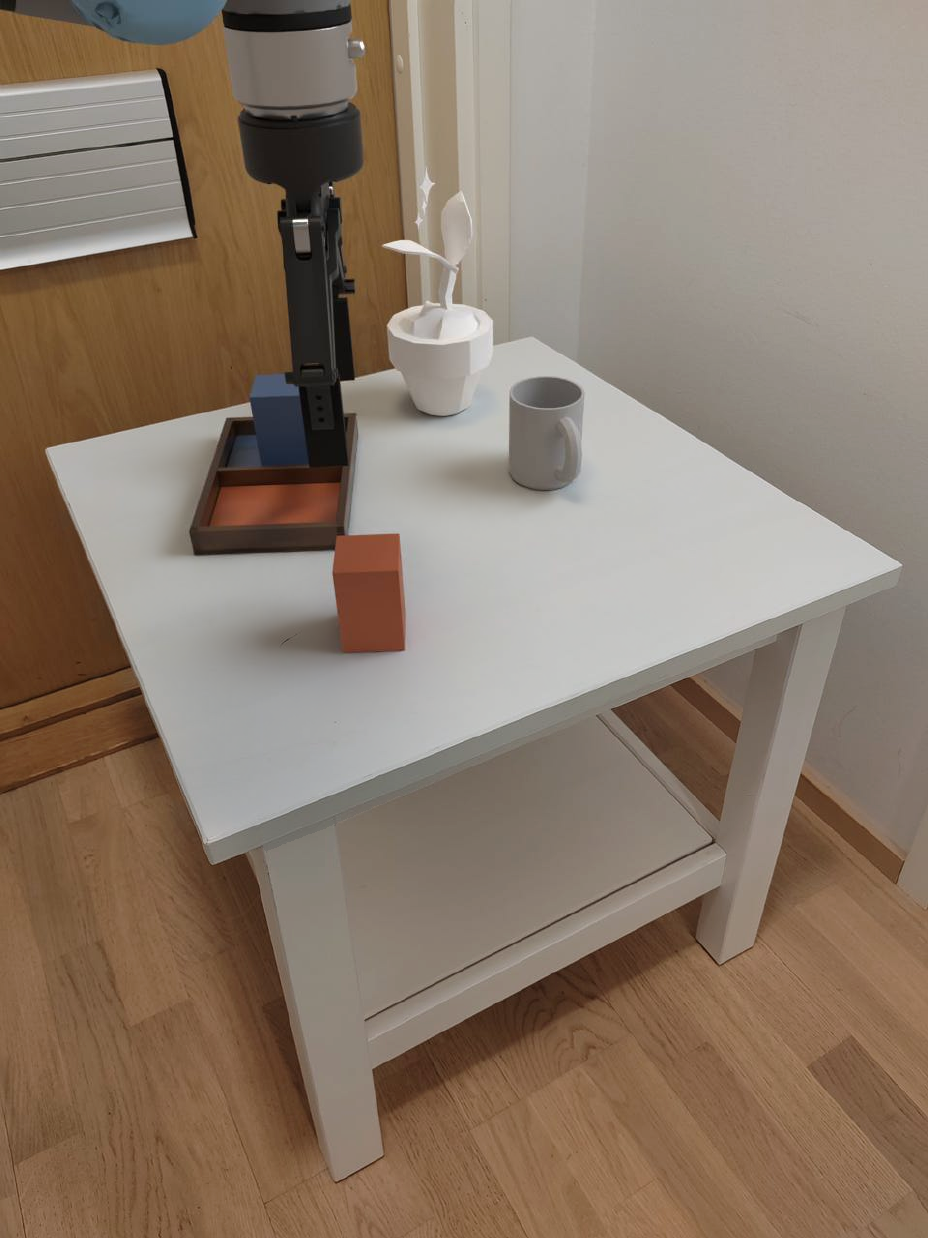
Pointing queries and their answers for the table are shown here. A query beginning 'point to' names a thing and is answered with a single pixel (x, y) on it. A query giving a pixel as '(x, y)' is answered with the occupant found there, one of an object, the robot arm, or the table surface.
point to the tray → (270, 498)
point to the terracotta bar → (369, 592)
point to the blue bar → (278, 421)
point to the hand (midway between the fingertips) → (334, 419)
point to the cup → (545, 432)
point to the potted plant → (441, 325)
